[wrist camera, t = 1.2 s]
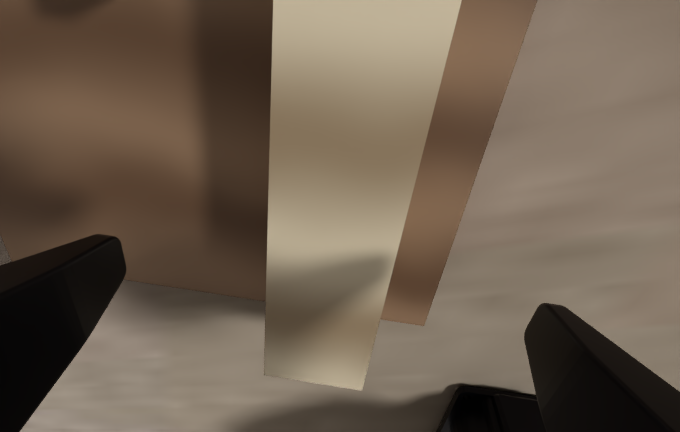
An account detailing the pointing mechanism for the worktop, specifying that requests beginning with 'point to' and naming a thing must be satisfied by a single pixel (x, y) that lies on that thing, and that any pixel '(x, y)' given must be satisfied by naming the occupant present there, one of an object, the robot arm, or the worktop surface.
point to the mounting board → (207, 137)
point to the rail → (343, 171)
